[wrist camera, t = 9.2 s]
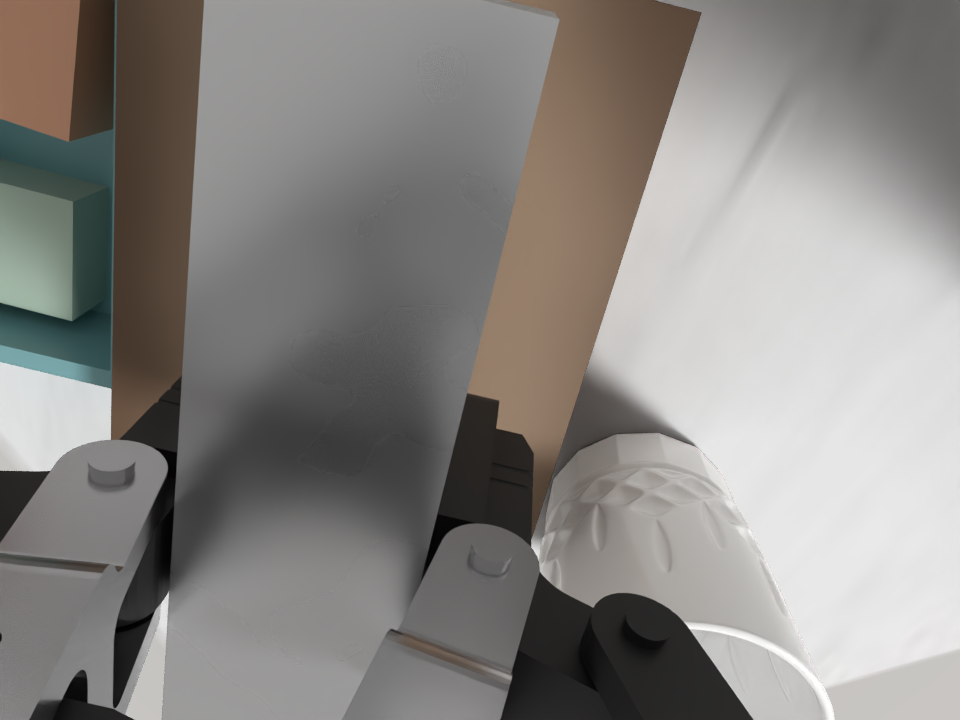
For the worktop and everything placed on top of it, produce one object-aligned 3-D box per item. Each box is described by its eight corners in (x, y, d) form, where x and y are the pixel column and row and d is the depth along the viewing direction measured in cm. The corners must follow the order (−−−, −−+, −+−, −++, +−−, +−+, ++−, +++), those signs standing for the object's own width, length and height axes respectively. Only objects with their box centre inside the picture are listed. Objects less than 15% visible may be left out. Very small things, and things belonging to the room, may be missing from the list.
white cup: (505, 443, 28) (482, 653, 19) (723, 392, 26) (812, 596, 17) (563, 604, 31) (567, 852, 22) (762, 568, 29) (854, 819, 20)
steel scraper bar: (554, 12, 11) (559, 19, 6) (389, 689, 17) (332, 938, 12) (349, -39, 11) (208, -69, 6) (257, 658, 17) (151, 898, 12)
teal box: (209, -65, 22) (140, -78, 18) (185, 340, 27) (129, 392, 24) (-51, -130, 22) (-172, -157, 18) (-22, 291, 27) (-109, 335, 24)
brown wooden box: (664, 9, 21) (701, 12, 16) (531, 449, 28) (525, 557, 23) (229, -101, 21) (118, -135, 16) (197, 368, 28) (110, 457, 22)
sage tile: (-60, 166, 23) (-14, 154, 24) (-51, 289, 24) (-9, 269, 26) (73, 201, 23) (108, 186, 25) (72, 321, 24) (105, 299, 26)
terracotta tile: (81, -21, 18) (-1, -50, 18) (68, 141, 20) (-7, 116, 20) (159, -18, 22) (91, -42, 22) (143, 120, 24) (79, 98, 23)
